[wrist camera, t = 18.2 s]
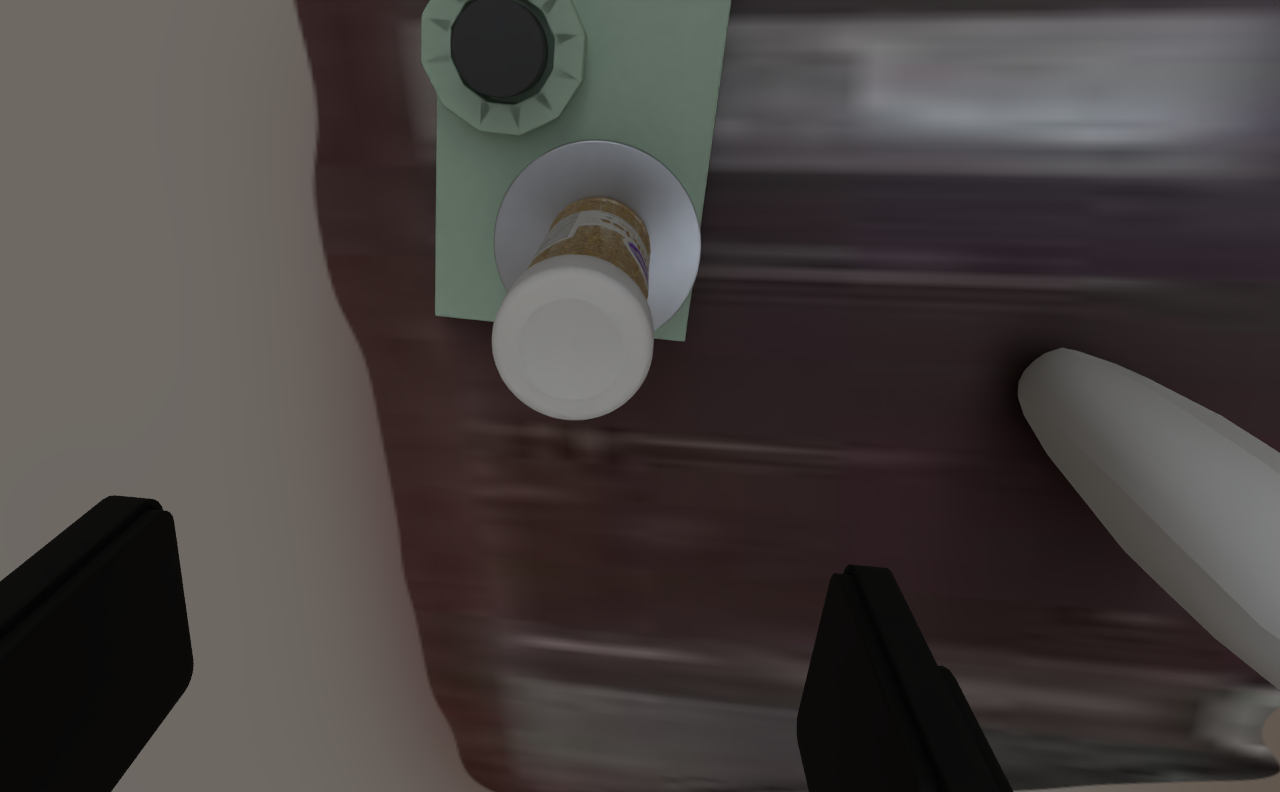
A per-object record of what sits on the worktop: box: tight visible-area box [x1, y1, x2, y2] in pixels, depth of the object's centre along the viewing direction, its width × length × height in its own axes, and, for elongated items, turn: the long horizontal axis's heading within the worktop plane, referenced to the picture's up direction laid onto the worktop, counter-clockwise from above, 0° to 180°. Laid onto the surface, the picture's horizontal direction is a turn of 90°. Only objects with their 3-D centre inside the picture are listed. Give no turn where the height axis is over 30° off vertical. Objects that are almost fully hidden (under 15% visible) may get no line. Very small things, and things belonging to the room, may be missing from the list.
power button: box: [451, 0, 548, 98], centre depth 31 cm, size 4×4×2 cm
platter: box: [494, 139, 702, 331], centre depth 34 cm, size 9×9×1 cm
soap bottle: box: [1018, 348, 1280, 690], centre depth 29 cm, size 14×8×27 cm, turn 47°
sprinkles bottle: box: [492, 197, 654, 420], centre depth 28 cm, size 5×4×14 cm
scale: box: [421, 0, 731, 341], centre depth 35 cm, size 16×12×3 cm
